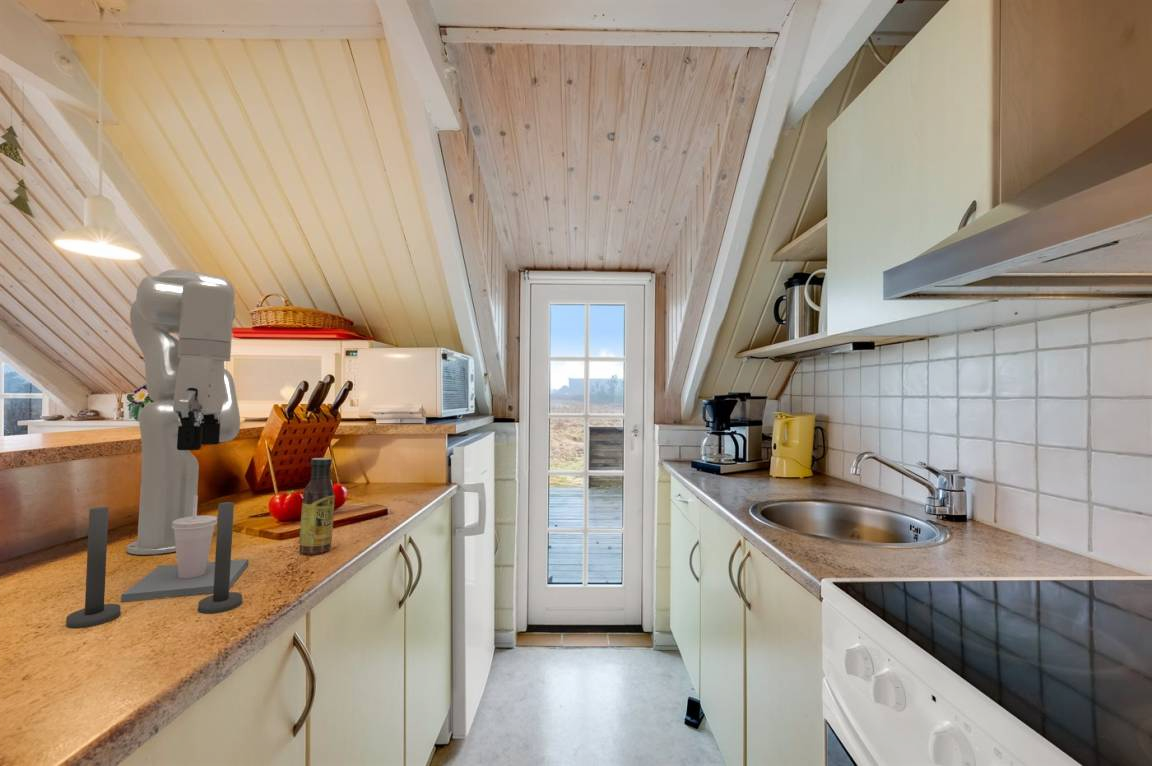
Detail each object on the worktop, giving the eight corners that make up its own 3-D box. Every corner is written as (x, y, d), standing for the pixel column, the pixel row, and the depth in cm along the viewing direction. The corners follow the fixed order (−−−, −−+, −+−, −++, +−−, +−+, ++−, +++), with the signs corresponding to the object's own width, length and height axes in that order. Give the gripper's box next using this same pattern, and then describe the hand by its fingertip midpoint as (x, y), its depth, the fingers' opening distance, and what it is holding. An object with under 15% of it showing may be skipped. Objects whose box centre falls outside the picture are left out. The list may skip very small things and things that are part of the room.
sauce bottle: (317, 557, 100) (322, 460, 101) (291, 554, 102) (296, 459, 102) (338, 548, 107) (343, 457, 108) (314, 545, 108) (318, 456, 109)
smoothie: (162, 583, 81) (167, 499, 82) (175, 570, 87) (180, 492, 88) (208, 578, 84) (213, 497, 85) (218, 566, 90) (223, 490, 90)
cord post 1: (79, 613, 72) (84, 505, 73) (127, 608, 74) (132, 503, 75) (56, 630, 67) (62, 514, 67) (109, 624, 69) (114, 511, 70)
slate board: (159, 572, 89) (159, 565, 89) (248, 565, 95) (248, 558, 95) (120, 602, 76) (121, 594, 76) (226, 591, 82) (227, 584, 82)
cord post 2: (205, 600, 78) (210, 500, 78) (246, 596, 80) (251, 499, 81) (192, 615, 73) (198, 508, 73) (236, 610, 75) (242, 506, 75)
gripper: (197, 353, 94) (191, 442, 93) (158, 345, 78) (151, 452, 77) (242, 356, 97) (237, 442, 96) (214, 349, 81) (208, 452, 80)
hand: (199, 446), depth 87 cm, fingers open, 9 cm apart
